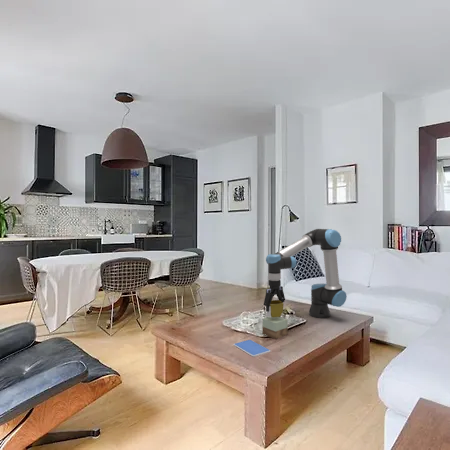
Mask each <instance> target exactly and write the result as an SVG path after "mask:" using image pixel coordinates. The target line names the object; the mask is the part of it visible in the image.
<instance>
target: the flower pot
mask: <svg viewBox="0 0 450 450" xmlns="http://www.w3.org/2000/svg"><path fill="white" fill-rule="evenodd" d="M284 304H285V302H281V301H280V300H279V299H274V300H273V299H272V301H271V304H270V306H271V317H281V316H282V314H283V313H284ZM282 312H283V313H282Z"/></svg>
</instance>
